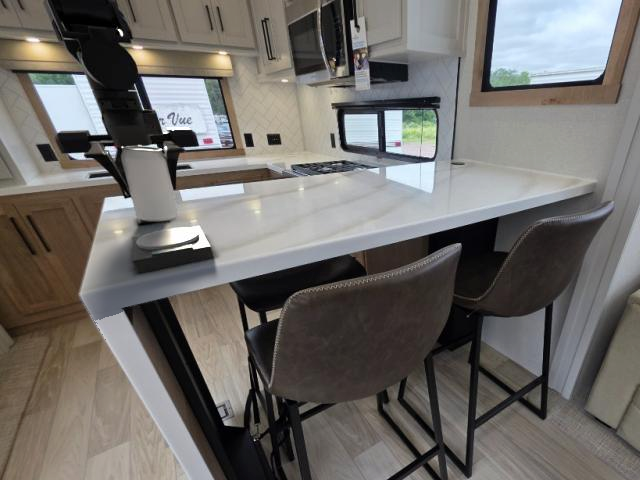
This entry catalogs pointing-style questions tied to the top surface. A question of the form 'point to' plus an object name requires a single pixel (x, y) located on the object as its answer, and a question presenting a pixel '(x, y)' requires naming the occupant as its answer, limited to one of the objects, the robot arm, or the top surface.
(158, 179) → the can
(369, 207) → the top surface
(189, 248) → the scale
